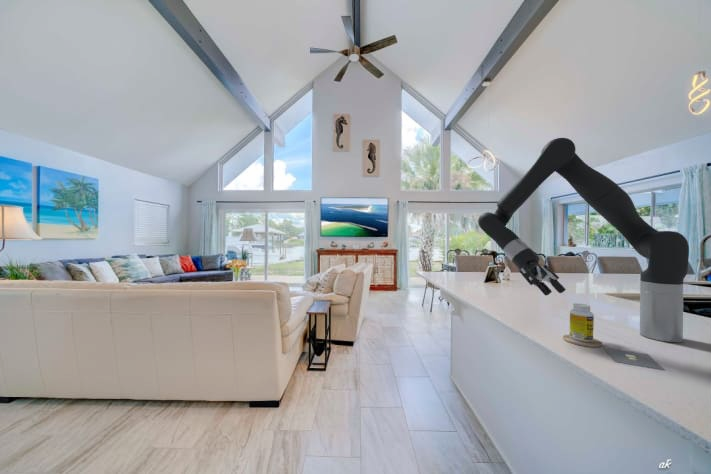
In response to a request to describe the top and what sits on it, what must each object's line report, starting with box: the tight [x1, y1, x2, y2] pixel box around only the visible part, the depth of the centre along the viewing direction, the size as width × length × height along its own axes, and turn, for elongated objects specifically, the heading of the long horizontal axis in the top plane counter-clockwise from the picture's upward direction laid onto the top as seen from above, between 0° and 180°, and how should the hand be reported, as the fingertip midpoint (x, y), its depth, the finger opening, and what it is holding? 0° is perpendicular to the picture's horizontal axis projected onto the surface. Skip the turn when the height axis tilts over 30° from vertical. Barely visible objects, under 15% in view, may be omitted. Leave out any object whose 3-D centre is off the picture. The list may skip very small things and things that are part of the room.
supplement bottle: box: [569, 303, 595, 342], centre depth 85 cm, size 6×6×10 cm
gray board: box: [603, 346, 666, 372], centre depth 74 cm, size 11×9×1 cm
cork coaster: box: [562, 334, 603, 348], centre depth 85 cm, size 9×9×1 cm
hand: (556, 292), depth 91 cm, fingers open, 8 cm apart
